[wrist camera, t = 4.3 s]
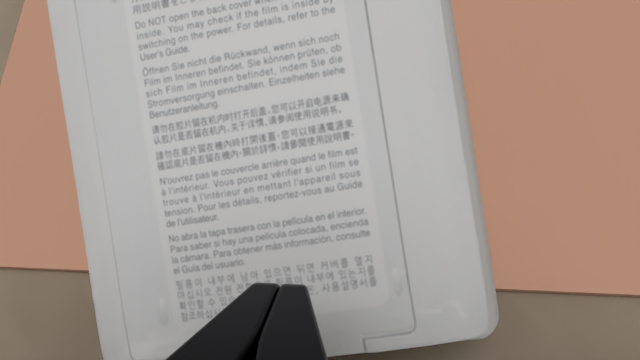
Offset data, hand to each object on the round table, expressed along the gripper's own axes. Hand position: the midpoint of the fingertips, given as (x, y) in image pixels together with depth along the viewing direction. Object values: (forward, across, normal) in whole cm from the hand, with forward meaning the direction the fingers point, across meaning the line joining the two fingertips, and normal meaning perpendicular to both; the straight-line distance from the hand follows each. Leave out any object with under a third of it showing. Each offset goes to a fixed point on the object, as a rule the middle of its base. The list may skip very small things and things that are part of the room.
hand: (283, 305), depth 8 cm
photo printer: (+4, 0, +5) cm, 6 cm away
